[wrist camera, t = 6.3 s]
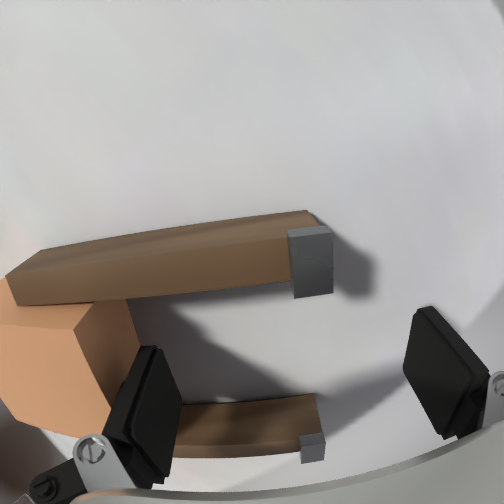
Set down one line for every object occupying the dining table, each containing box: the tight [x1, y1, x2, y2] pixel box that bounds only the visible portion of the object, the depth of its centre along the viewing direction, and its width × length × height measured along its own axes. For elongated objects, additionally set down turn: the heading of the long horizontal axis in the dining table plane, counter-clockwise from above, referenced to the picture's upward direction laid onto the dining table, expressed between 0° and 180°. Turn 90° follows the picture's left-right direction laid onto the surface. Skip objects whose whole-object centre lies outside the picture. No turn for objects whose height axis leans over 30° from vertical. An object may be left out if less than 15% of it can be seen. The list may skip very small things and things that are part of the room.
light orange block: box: [0, 278, 141, 439], centre depth 10 cm, size 6×7×4 cm
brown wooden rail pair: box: [5, 210, 333, 464], centre depth 10 cm, size 10×10×3 cm
